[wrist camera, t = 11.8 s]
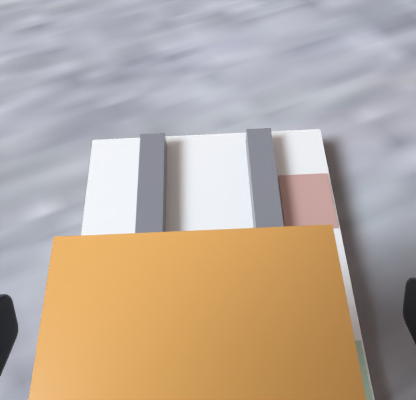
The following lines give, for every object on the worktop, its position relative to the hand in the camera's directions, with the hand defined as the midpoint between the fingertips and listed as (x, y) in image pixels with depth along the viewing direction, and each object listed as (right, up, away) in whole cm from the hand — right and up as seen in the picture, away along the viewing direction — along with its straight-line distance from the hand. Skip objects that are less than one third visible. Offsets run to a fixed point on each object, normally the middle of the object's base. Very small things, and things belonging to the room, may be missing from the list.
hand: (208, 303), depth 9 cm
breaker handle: (0, -3, +4) cm, 5 cm away
